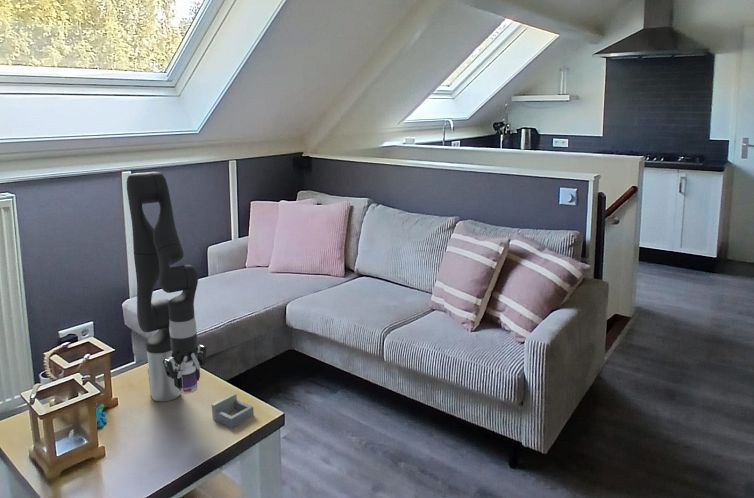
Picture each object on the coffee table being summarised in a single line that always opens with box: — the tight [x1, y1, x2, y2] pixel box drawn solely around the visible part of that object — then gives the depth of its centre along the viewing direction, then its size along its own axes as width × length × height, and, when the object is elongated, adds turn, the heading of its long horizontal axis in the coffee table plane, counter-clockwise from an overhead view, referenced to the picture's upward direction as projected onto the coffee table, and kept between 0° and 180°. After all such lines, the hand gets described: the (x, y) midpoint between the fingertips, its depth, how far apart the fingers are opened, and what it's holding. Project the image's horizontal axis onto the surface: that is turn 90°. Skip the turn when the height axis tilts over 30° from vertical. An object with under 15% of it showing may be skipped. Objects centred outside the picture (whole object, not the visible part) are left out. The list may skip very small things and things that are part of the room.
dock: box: [211, 392, 255, 428], centre depth 192 cm, size 9×9×5 cm
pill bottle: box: [177, 360, 198, 395], centre depth 184 cm, size 5×5×10 cm
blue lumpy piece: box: [95, 402, 108, 428], centre depth 189 cm, size 11×6×10 cm
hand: (187, 383), depth 184 cm, fingers closed on pill bottle, 5 cm apart
